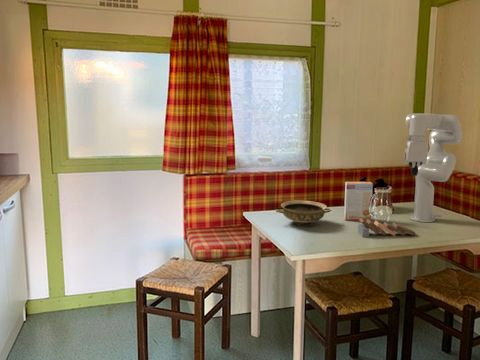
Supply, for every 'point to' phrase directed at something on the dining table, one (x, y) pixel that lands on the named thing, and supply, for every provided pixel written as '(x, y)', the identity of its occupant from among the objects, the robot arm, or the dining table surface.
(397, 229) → the walnut domino
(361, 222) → the walnut domino
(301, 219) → the ceramic bowl
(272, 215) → the dining table surface
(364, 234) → the end block
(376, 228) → the walnut domino
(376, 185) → the coal bowl
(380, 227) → the terracotta domino
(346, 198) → the cracker box
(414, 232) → the walnut domino
